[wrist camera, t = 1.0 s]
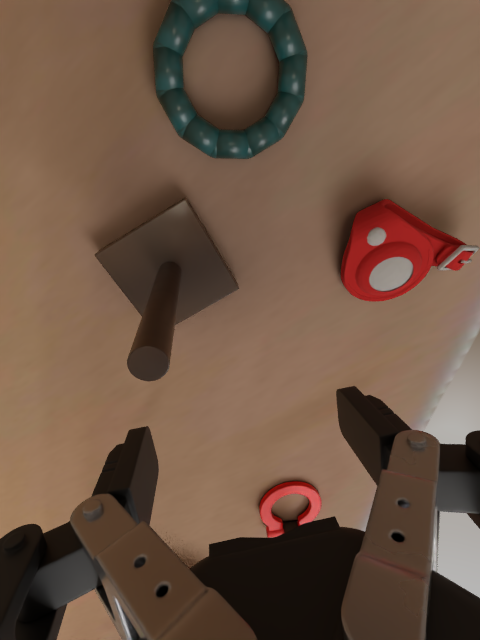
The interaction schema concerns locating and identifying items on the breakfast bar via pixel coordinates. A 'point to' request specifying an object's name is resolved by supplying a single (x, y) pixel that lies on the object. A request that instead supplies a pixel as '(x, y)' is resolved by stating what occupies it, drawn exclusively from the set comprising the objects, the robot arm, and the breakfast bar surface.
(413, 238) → the tracker holder
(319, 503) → the tow hook
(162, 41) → the ring
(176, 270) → the brown peg stand
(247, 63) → the breakfast bar surface
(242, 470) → the breakfast bar surface
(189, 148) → the breakfast bar surface
